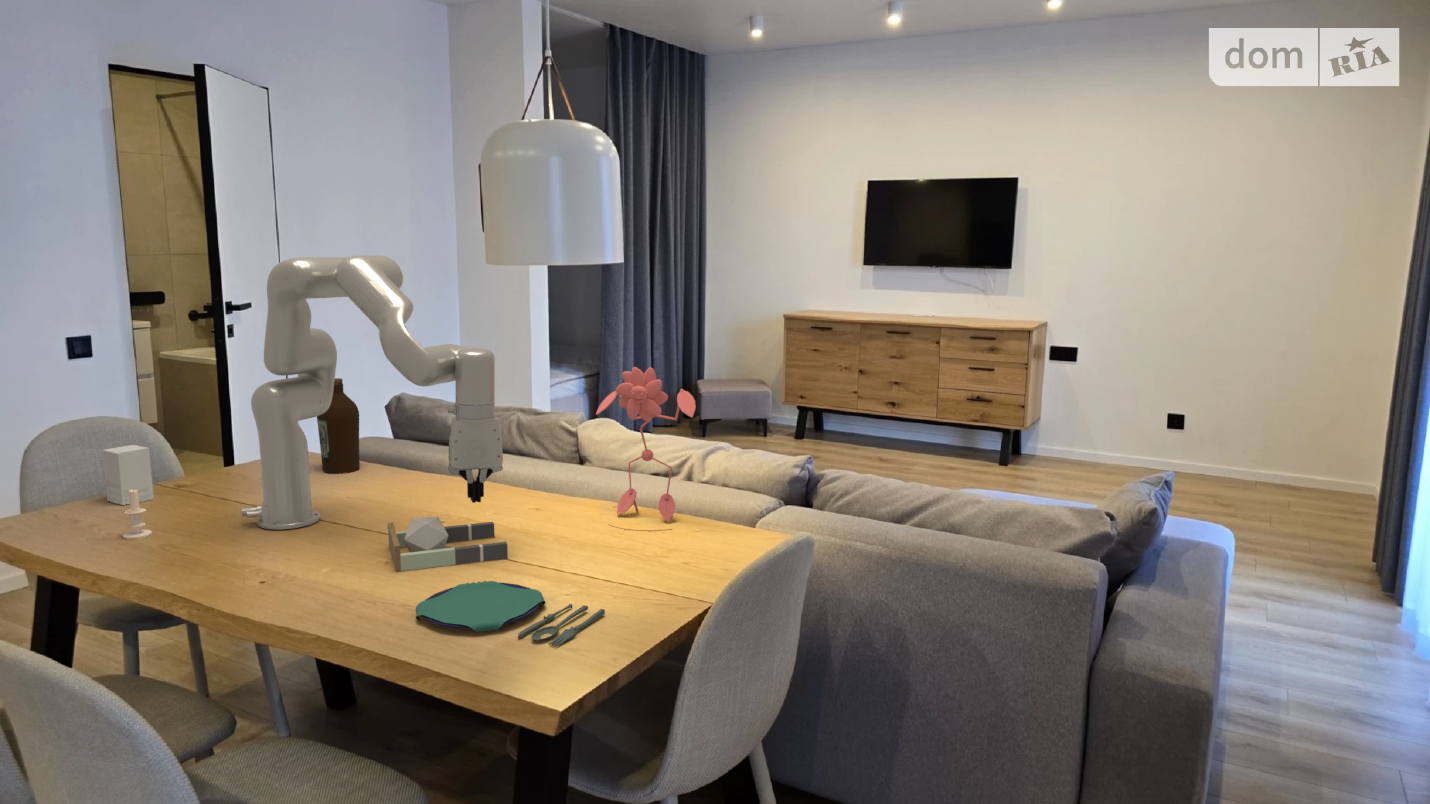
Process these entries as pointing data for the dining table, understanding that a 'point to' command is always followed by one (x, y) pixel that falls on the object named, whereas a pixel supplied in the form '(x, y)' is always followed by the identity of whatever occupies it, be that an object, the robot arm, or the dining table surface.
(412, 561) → the trap lane
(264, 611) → the dining table surface
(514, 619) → the cutlery set
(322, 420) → the olive oil
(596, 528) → the dining table surface
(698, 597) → the dining table surface
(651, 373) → the figurine
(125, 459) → the supplement box
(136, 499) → the candle
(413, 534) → the die
